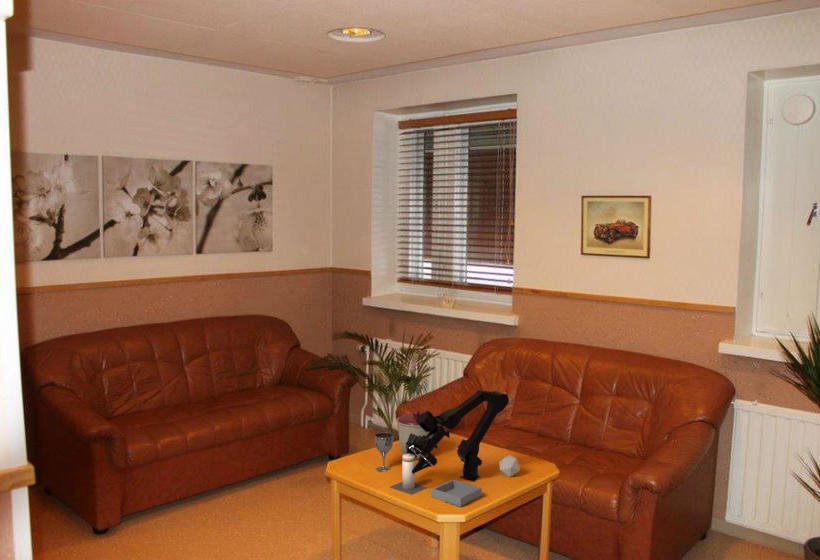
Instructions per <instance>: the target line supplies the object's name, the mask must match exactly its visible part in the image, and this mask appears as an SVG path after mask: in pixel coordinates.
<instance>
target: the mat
mask: <svg viewBox="0 0 820 560" xmlns="http://www.w3.org/2000/svg"><path fill="white" fill-rule="evenodd" d="M388 488H389V489H393V490H395V491H397V492H398V491H399V492H402V493H405V494H407V495H408V494H409V495H411V496H413V495H415V494H418V493H419V492H422V491H425V490H427V489H428V487H427V486H424V485H420V484H417V483H415V488H414V489H412V490H405V489H403V488H402V481H400V482H398V483H394V485H391V486H388Z"/></svg>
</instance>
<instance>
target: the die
mask: <svg viewBox="0 0 820 560" xmlns="http://www.w3.org/2000/svg"><path fill="white" fill-rule="evenodd" d="M519 463H520V462H519V461H518V459H517V458H516V457H514V456H512V455H510V454H508V455H506V456H505V457H504V458H501V460H500V461H498V464H499V470H500V472H501V474H503V475H505V476H506V477H509V476H511V477H513V476H514V475H515V474H517V473H518V472H520V471H521V470H520V469H521V468H520V465H519Z"/></svg>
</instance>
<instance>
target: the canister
mask: <svg viewBox="0 0 820 560" xmlns="http://www.w3.org/2000/svg"><path fill="white" fill-rule="evenodd" d="M421 414H422V413H421V411H420V410H418V409H414V410H413V411H412V413H405V414H402V415H400V416H399V417H397V418H396V420H395V421H396V423H397V428H398V437H399V440H398V441H399V447H400V452H401V454H402V455H403V454H406V452H407V449H406V446H407V445H406V442H407V441H408V438H409V435H410V433H412V434H414V435H417V436H419V435H420V436H423V435H425V436H426V435H427V434H428V433H429V432H425V431H424V430H423V429H422V428H421V427H420V426H419V425H418V424H417V423H416V420H417V417H418V416H419V415H421ZM416 455H417V454H416ZM419 455H421V454H418V455H417V457H416V458H415V460H419ZM421 456H422V455H421ZM422 457H424V456H422Z"/></svg>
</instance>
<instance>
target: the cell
mask: <svg viewBox="0 0 820 560" xmlns="http://www.w3.org/2000/svg"><path fill="white" fill-rule="evenodd" d="M401 458H402V459H401V460H402V462H401V467H402V469H401V470H402V471H401V473H402V474H401V482H402V488H403V489H405V490H412V489H414V488H415V484H416V480H415V479H416V473H414V474H413V473H412V470H413V468H414V467H415V465H416V459H415V455H414V454H409V453H408V454H402V457H401Z"/></svg>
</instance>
